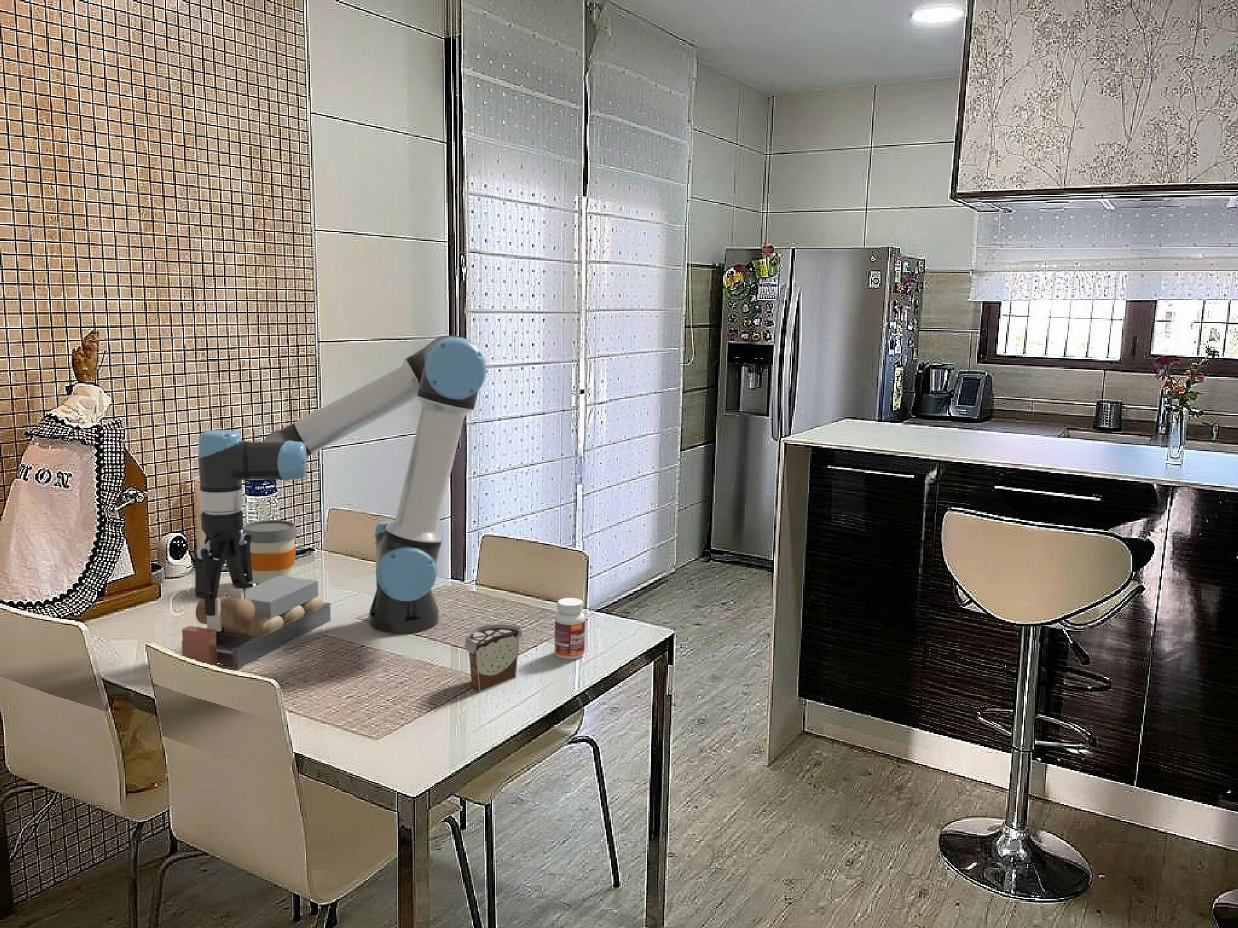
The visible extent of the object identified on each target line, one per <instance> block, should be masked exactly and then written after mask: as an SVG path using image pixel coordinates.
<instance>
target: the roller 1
mask: <svg viewBox="0 0 1238 928" xmlns="http://www.w3.org/2000/svg"><path fill="white" fill-rule="evenodd" d="M217 598H220V603H221V627H224V628H230V629H236V630H245V629H247V628H248V627H249V626H250V625H251V623H252V621H253V619H254V614H255V608H254V604H253V603H252V601H250V600H247V599H241V598H234V597H230V596H228V595H227V596H226V595H220V594H217ZM195 617H196V620H197V622H198V623H200V624H201V625H207V615H206V614H205V601H204V599H201V598H199V600H198V602H197V603H196V608H195Z"/></svg>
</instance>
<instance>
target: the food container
mask: <svg viewBox="0 0 1238 928" xmlns="http://www.w3.org/2000/svg"><path fill="white" fill-rule="evenodd" d="M520 637H523V634H522V629H521V626H519V625H514V624H506V623H504V624H503V623H499V624H498V623H495V624H487V625H481V626H478V627H475V628H472V629H471V630H470V631H469V632H468V634H467V636H466V638H465V643H464V648H465V650H466V651H467V652H468V657H469V666H470V667H469V668H470V669H469V670H470V679H471V680H470V681H471V687H472V689H473V690H474V692H476V693H478V694H480V693H483V692H485V691H488V690H490V689H492V688H495V687H497V686H500V685H502V684H505V683H507V682H509V681H512V680H515V679H516V678H517V670H518V669H517V668H518V659H519V658H518V656H519V647H520Z"/></svg>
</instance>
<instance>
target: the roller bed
mask: <svg viewBox="0 0 1238 928" xmlns="http://www.w3.org/2000/svg"><path fill="white" fill-rule="evenodd" d="M331 615H332V614H331V602H324V604H322V605H320V606H318V607H316V608H314V609H312V610H310V611H308V612H306V613H304V614H302V615H300V616H298V617H296V618H294V619H292V620H290V621H288V622H286V623H284V624H282V625H280V626H278V627H276V628H274V629H272V630H270V631H268V632H266V633H264V634H262V635H260V636H258V637H251V636H244V635H238V634H231V633H225V632H224V627H221V629H222V631H219V632H218V631H216V630H214V629H207V627H200V626H195V625H194V626H193V625H189V626H187V627H184V628H182V629H181V633H182V634H181V636H182V640H181V650H182V651H181V652H182V657H183V656H185V657H187V658H190V659H195V660H196V661H199V662H202V663H207V664H210V665H215V666H218V665H219V664H217V663H220V664H223V665H222V666H225V665H227V666H228V667H233V670H240V669H242V668H243V666H244V665H246V664H248V663H249V664H251V663H253V662H255V661H257V660H258V659H261V658H262V657H264V656H267V655H268V654H270V653H272V652H274V651H275V650H277V649H280V648H281V647H283V646H285V645H287V644H289V643H291V642H293V641H294V640H297V639H298V638H300V637H301V636H304V635H306V634H308V633H309V632H311V631H313V630H316V629H317V628H319V627H321V626H322V625H325V624H326V623H328V622H330V621H331ZM218 647H224V648H230V649H231V648H232V649H233V650H232V651H231V650H223V649H218ZM256 659H257V660H256ZM252 661H253V662H252ZM249 664H248V665H249ZM227 666H226V667H227ZM246 666H247V665H246ZM218 667H219V666H218ZM241 667H242V668H241ZM244 667H245V666H244ZM235 668H236V669H235Z"/></svg>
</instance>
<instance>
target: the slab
mask: <svg viewBox="0 0 1238 928" xmlns="http://www.w3.org/2000/svg"><path fill="white" fill-rule="evenodd" d="M318 596H319V581H318V580H315V579H308V578H300V577H293V576H291V577H285V576H277V577H275V578H272V579H270V580H268V581H265V582H263V583H261V584H258V585H256V586H252V587H249V588H245V599H247V600H250V601H252V603H253V604H254V608H255V614H254V617H260V618H267V619H272V618H274V617H276V616H278V615H280V614H282V613H284V612H287V611H289V610H291V609H293V608H295V607H297V606H299V605H301V604H303V603H305V602H307V601H309V600H311V599H314V598H316V597H318Z"/></svg>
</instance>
